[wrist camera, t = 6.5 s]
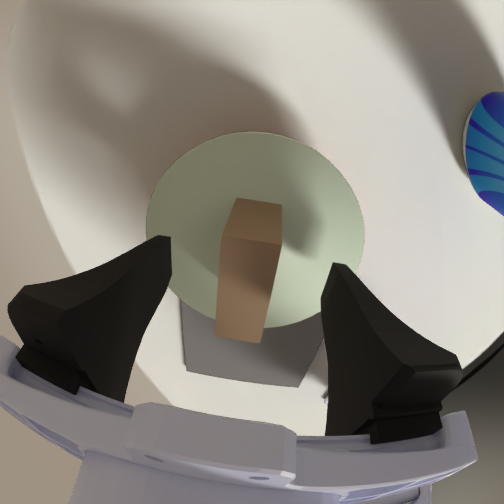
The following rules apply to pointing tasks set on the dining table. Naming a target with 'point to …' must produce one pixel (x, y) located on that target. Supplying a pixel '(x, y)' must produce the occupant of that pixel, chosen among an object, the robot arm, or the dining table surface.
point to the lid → (255, 230)
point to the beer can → (486, 149)
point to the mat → (251, 350)
